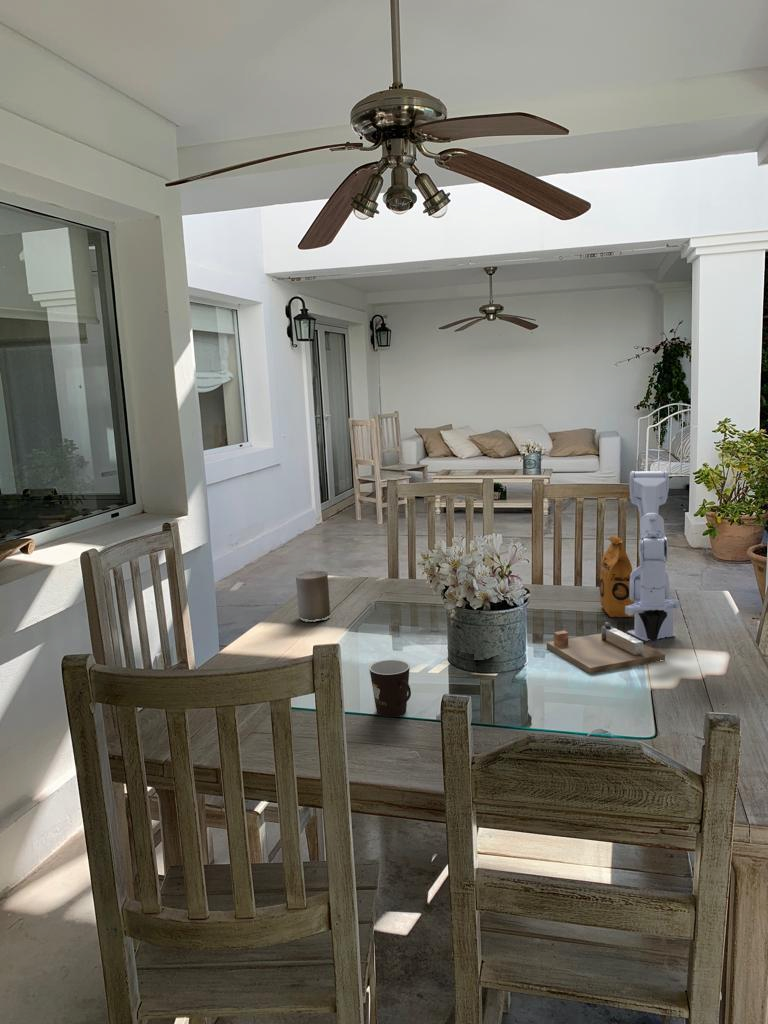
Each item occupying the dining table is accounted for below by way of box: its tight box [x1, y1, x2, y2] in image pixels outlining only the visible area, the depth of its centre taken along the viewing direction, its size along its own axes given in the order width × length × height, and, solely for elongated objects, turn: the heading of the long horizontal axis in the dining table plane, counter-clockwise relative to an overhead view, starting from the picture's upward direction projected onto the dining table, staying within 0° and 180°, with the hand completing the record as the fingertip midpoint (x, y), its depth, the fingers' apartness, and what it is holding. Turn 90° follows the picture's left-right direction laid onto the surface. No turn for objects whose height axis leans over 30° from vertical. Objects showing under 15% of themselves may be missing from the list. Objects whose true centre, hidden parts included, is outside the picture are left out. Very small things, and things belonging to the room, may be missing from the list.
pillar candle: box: [295, 570, 331, 620], centre depth 237 cm, size 10×10×15 cm
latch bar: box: [600, 621, 644, 655], centre depth 198 cm, size 15×3×4 cm, turn 18°
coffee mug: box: [368, 659, 412, 719], centre depth 167 cm, size 12×9×10 cm
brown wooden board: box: [546, 630, 666, 675], centre depth 197 cm, size 21×20×4 cm
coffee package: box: [598, 534, 635, 618], centre depth 229 cm, size 10×12×22 cm
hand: (652, 639), depth 195 cm, fingers closed
